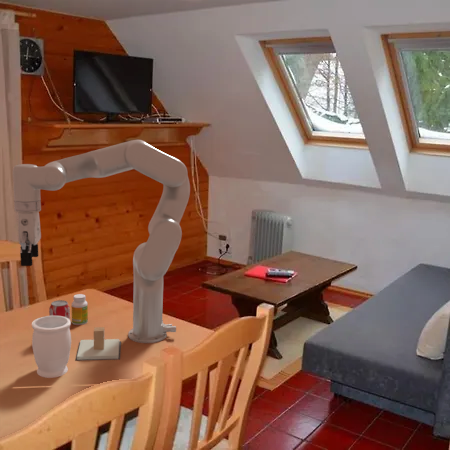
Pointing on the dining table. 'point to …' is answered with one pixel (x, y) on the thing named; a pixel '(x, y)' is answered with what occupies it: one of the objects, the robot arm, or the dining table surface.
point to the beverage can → (60, 309)
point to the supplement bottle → (79, 310)
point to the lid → (98, 347)
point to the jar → (51, 345)
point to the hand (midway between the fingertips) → (29, 261)
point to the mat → (101, 359)
